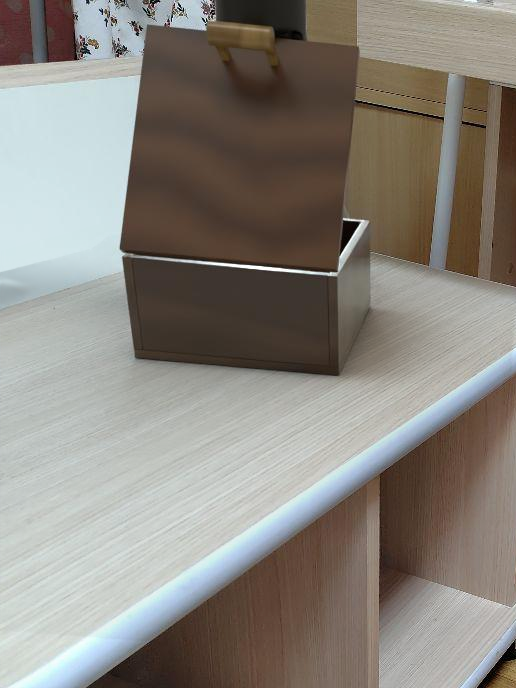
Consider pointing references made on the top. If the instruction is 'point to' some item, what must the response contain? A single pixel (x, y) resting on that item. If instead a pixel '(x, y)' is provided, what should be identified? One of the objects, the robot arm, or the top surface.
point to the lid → (240, 147)
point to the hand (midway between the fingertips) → (267, 167)
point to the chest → (250, 309)
